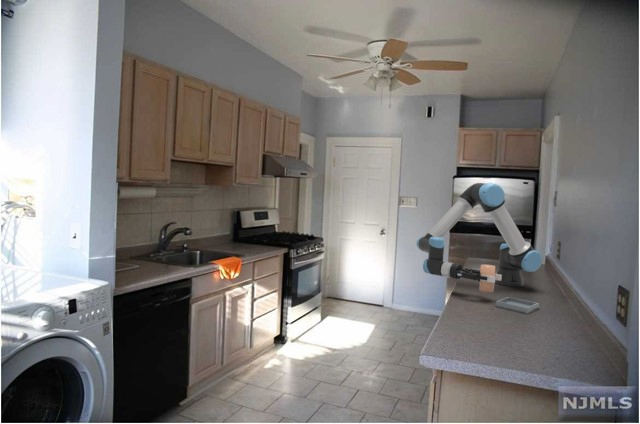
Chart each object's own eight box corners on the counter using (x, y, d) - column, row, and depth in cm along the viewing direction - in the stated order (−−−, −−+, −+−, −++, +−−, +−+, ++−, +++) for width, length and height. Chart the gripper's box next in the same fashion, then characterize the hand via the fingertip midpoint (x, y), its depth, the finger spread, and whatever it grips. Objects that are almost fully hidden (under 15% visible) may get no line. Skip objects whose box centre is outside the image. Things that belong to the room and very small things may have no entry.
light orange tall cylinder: (482, 288, 215) (484, 263, 214) (496, 291, 210) (497, 266, 209) (476, 290, 210) (478, 265, 209) (490, 293, 206) (491, 267, 205)
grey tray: (507, 301, 210) (508, 296, 210) (538, 308, 200) (539, 303, 200) (495, 306, 200) (495, 301, 200) (527, 314, 191) (527, 308, 190)
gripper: (461, 275, 229) (505, 283, 213) (442, 280, 216) (488, 289, 200) (462, 261, 229) (506, 268, 213) (443, 265, 215) (489, 273, 199)
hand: (497, 278), depth 206 cm, fingers closed on light orange tall cylinder, 6 cm apart
